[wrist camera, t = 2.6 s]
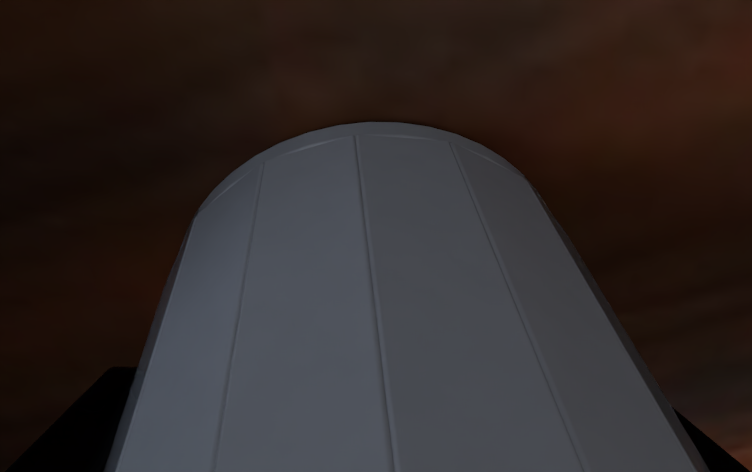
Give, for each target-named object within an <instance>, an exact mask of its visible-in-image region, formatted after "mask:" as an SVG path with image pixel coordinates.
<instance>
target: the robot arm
mask: <svg viewBox="0 0 752 472" xmlns="http://www.w3.org/2000/svg"><path fill="white" fill-rule="evenodd" d="M137 368H138V367H119V366H117V367H112V368H110V369H108V370H107V371H106V372H105V373H104V374H103V375H102V376H101V377H100V378H99V379H98V380H97V381H96V382H95V383H94V384H93V385H92V386H91V387H90V388H89V389H88V390H87V391H86V392H85V393H84V394H83V395H82V396H81V397H80V398H79V399H78V400H76V401H75V402H74V403H73V404H72V405H71V406H70V407H69V408H68V409H67V410H66V411H65V412H64V413H63V414H62V415H61V416H60V417H59V418H58V419H57V420H56V421H55V422H54V423H53V424H52V425H51V426H50V427H49V428H48V429H47V430H46V431H45V432H44V433H43V434H42V435H41V436H40V437H39V438H38V439H37V440H36V441H35V442H34V443H33V444H32V445H31V446H30V447H29V448H28V449H27V450H26V451H25V452H24V453H23V454H22V455H21V456H20V457H19V458H18V459H17V460H16V461H15V462H14V463H13V464H12V465H11V466H10V467H9V468H8V469H7V470H6V471H5V472H103V470H104V467H105V464H106V461H107V458H108V455H109V452H110V450H111V447H112V444H113V441H114V437H115V434H116V431H117V428H118V425H119V422H120V419H121V416H122V413H123V410H124V407H125V404H126V401H127V398H128V395H129V392H130V389H131V386H132V383H133V380H134V377H135V374H136V371H137ZM672 409H673V410H674V412H675V414H676V415H677V417H678V419H679V420H680V422H681V424H682V425H683V427H684V429H685V430H686V432H687V434H688V435H689V437H690V439H691V440H692V442H693V444H694V445H695V447H696V449H697V450H698V452H699V453H700V455H701V457H702V458H703V460H704V462H705V463H706V465H707V467H708V468H709V470H710V472H750V471H749V470H748V469H746V468H745V467H744V466H743V465H742V464H740V463H739V462H738V461H737V460H736V459H734V458H733V457H732V456H731V455H729V454H728V453H727V452H726V451H725V450H723V449H722V448H721V447H720V446H719V445H717V444H716V443H715V442H714V441H713V440H711V439H710V438H709V437H708V436H706V435H705V434H704V433H703V432H702V431H700V430H699V429H698V428H697V427H696V426H694V425H693V424H692V423H691V422H690V421H688V420H687V419H686V418H685V417H683V416H682V415H681V414H680V413H679V412H677V411H676V410H675V409H674V408H673V407H672Z"/></svg>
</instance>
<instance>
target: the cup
mask: <svg viewBox="0 0 752 472" xmlns="http://www.w3.org/2000/svg"><path fill="white" fill-rule="evenodd" d="M103 472H710V470H709V468H708V467H707V465H706V463H705V462H704V460H703V458H702V457H701V455H700V453H699V452H698V450H697V449H696V447H695V445H694V444H693V442H692V440H691V439H690V437H689V435H688V434H687V432H686V430H685V429H684V427H683V425H682V424H681V422H680V420H679V419H678V417H677V415H676V414H675V412H674V410H673V409H672V407H671V405H670V404H669V402H668V400H667V399H666V397H665V396H664V394H663V392H662V391H661V389H660V387H659V386H658V384H657V382H656V381H655V379H654V377H653V376H652V374H651V372H650V371H649V369H648V367H647V366H646V364H645V362H644V361H643V359H642V357H641V356H640V354H639V352H638V351H637V349H636V347H635V346H634V344H633V343H632V341H631V339H630V338H629V336H628V334H627V333H626V331H625V329H624V328H623V326H622V324H621V323H620V321H619V319H618V318H617V316H616V314H615V313H614V311H613V309H612V308H611V306H610V304H609V303H608V301H607V299H606V298H605V296H604V294H603V293H602V291H601V290H600V288H599V286H598V285H597V283H596V281H595V280H594V278H593V276H592V275H591V273H590V271H589V270H588V268H587V266H586V265H585V263H584V261H583V260H582V258H581V256H580V255H579V253H578V251H577V250H576V248H575V246H574V245H573V243H572V242H571V240H570V238H569V237H568V235H567V233H566V232H565V231H564V229H563V228H562V226H561V225H560V224H559V222H558V221H557V220H556V218H555V217H554V216H553V214H552V213H551V212H550V210H549V208H548V207H547V205H546V204H545V202H544V200H543V199H542V197H541V196H540V194H539V192H538V191H537V190H536V188H535V187H534V186H533V185H532V184H531V183H530V182H529V181H528V179H527V178H526V177H525V176H524V175H523V174H522V173H521V172H520V171H519V170H517V169H516V168H515V167H514V166H513V165H511V164H510V163H509V162H508V161H507V160H505V159H504V158H503V157H501V156H499V155H498V154H496V153H494V152H493V151H491V150H489V149H488V148H486V147H484V146H483V145H481V144H479V143H476V142H474V141H472V140H469V139H467V138H464V137H462V136H460V135H457V134H454V133H451V132H447V131H443V130H440V129H436V128H432V127H429V126H422V125H414V124H407V123H400V122H363V123H353V124H344V125H337V126H333V127H328V128H324V129H320V130H315V131H311V132H308V133H305V134H302V135H300V136H297V137H294V138H291V139H289V140H286V141H283V142H281V143H279V144H277V145H275V146H273V147H271V148H269V149H267V150H265V151H263V152H262V153H260V154H258V155H256V156H254V157H253V158H251V159H250V160H249V161H247V162H246V163H244V164H243V165H241V166H240V167H239V168H237V169H236V170H234V171H233V172H232V173H231V174H230V175H229V176H227V177H226V178H225V179H224V180H223V181H222V182H221V183H220V184H219V185H218V186H217V187H216V188H215V189H214V190H213V191H212V192H211V193H210V195H209V196H208V197H207V199H206V200H205V201H204V202H203V204H202V205H201V206H200V207H199V209H198V210H197V212H196V214H195V216H194V217H193V219H192V221H191V223H190V225H189V226H188V228H187V230H186V233H185V236H184V239H183V242H182V244H181V247H180V250H179V253H178V255H177V258H176V260H175V262H174V264H173V266H172V269H171V271H170V273H169V275H168V277H167V280H166V283H165V286H164V289H163V292H162V295H161V298H160V301H159V304H158V307H157V310H156V313H155V317H154V320H153V323H152V326H151V329H150V332H149V335H148V338H147V341H146V344H145V347H144V350H143V353H142V356H141V359H140V362H139V365H138V368H137V371H136V374H135V377H134V380H133V383H132V386H131V389H130V392H129V395H128V398H127V401H126V404H125V407H124V410H123V413H122V416H121V419H120V422H119V425H118V428H117V431H116V434H115V437H114V441H113V444H112V447H111V450H110V452H109V455H108V458H107V461H106V464H105V467H104V470H103Z"/></svg>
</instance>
